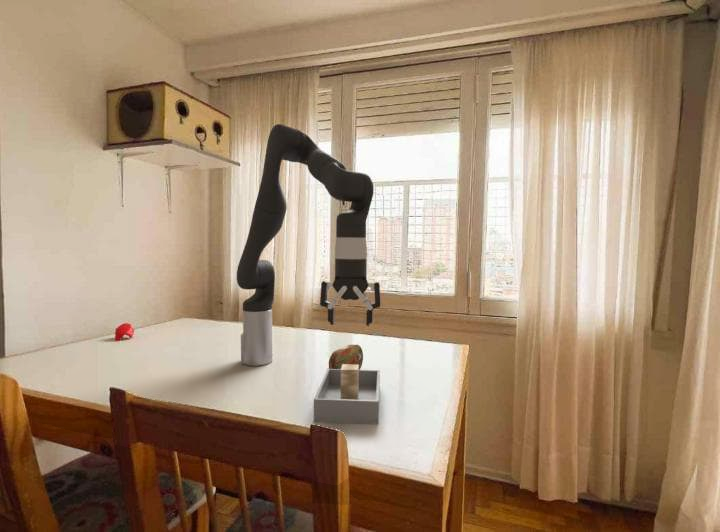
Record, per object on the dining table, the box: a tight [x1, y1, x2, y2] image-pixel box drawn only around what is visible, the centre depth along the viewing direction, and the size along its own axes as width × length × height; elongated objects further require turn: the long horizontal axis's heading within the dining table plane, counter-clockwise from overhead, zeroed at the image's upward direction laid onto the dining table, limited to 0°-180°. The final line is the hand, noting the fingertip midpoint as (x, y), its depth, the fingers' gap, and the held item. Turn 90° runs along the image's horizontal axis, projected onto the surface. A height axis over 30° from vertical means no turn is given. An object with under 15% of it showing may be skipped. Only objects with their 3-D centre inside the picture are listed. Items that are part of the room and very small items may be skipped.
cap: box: [114, 322, 135, 342], centre depth 152 cm, size 8×6×6 cm
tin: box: [328, 344, 364, 370], centre depth 111 cm, size 15×3×8 cm, turn 148°
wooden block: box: [341, 364, 359, 400], centre depth 91 cm, size 4×4×8 cm
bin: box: [313, 368, 381, 425], centre depth 91 cm, size 14×20×5 cm
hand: (350, 324), depth 90 cm, fingers open, 8 cm apart
